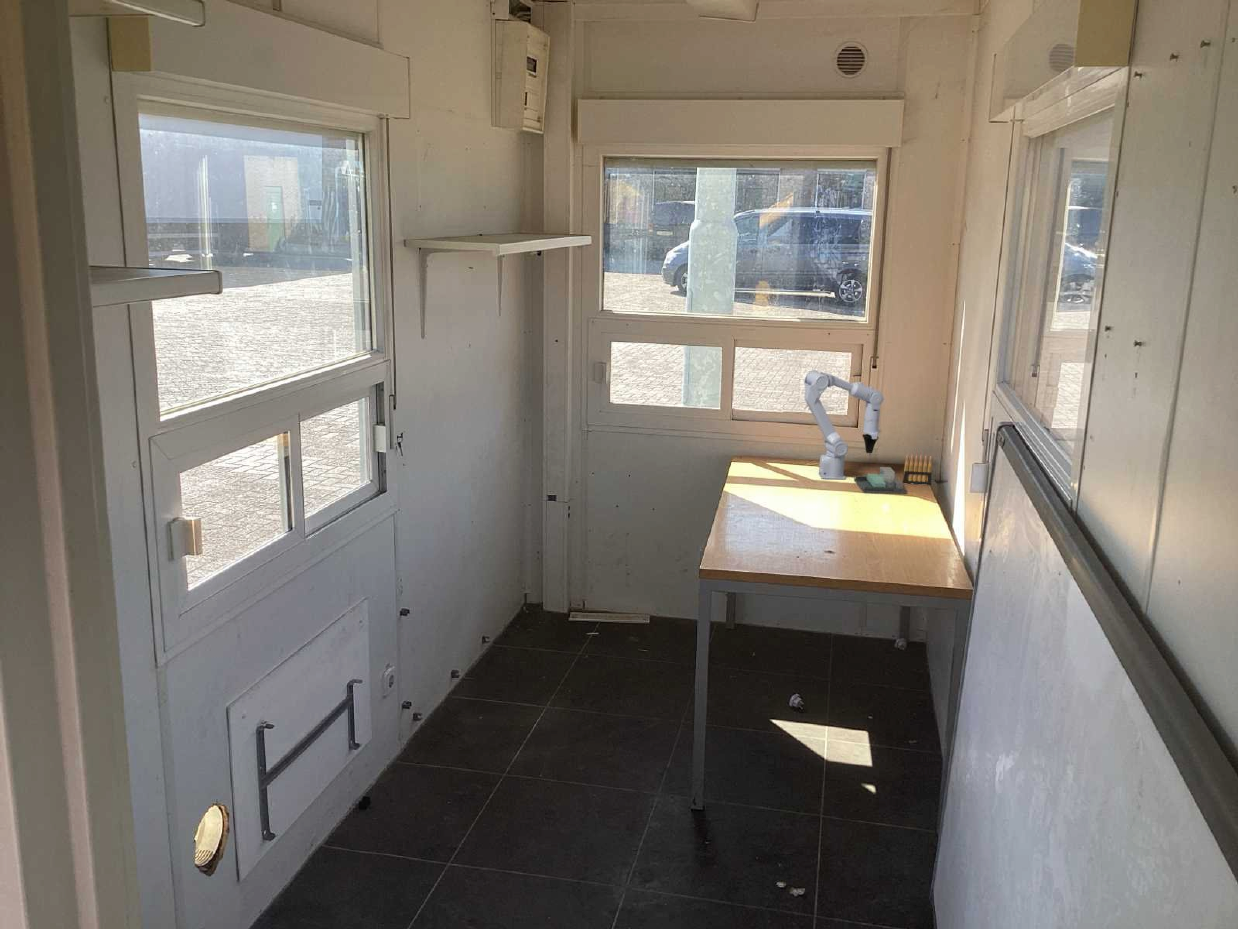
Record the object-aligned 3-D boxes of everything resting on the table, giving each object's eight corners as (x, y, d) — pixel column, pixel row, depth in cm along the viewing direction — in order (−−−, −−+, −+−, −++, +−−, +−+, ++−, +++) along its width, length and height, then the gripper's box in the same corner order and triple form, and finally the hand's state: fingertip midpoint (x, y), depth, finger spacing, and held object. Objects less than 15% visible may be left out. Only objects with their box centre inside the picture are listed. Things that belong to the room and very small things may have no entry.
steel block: (883, 486, 415) (884, 471, 413) (878, 481, 421) (879, 467, 420) (893, 487, 415) (894, 471, 413) (888, 482, 421) (890, 467, 420)
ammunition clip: (902, 483, 424) (905, 453, 421) (902, 482, 426) (905, 452, 422) (931, 485, 422) (933, 455, 419) (930, 484, 424) (933, 454, 421)
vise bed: (864, 493, 409) (864, 484, 408) (854, 480, 427) (854, 472, 426) (906, 493, 409) (907, 485, 408) (894, 481, 427) (895, 472, 426)
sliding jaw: (874, 488, 411) (875, 483, 410) (866, 478, 424) (867, 473, 424) (885, 488, 411) (885, 483, 410) (876, 479, 424) (877, 473, 424)
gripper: (886, 423, 422) (883, 457, 425) (877, 415, 436) (874, 448, 439) (868, 423, 421) (865, 457, 425) (860, 415, 436) (857, 448, 439)
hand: (869, 452), depth 432 cm, fingers closed
